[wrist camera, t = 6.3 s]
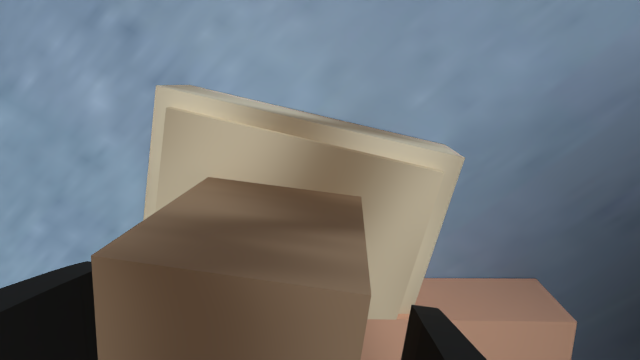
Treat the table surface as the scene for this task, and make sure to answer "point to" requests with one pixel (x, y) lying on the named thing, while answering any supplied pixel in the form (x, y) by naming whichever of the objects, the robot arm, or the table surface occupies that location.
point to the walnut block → (236, 278)
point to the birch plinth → (311, 174)
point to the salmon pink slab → (485, 320)
